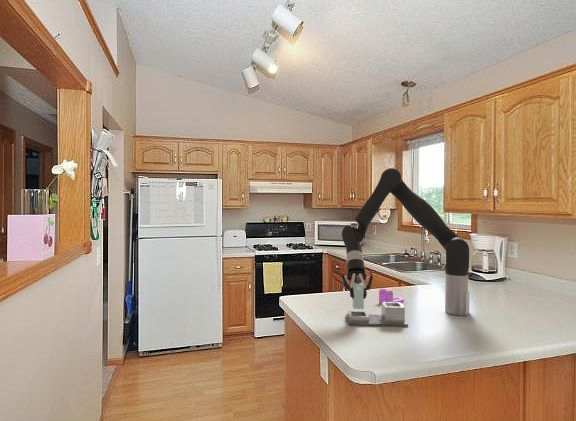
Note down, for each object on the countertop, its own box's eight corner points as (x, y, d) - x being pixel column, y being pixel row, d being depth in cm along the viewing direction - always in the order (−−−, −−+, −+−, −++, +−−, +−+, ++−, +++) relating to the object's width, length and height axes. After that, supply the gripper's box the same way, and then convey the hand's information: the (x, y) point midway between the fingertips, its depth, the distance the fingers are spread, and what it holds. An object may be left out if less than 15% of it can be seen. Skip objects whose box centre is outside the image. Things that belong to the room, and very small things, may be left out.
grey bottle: (362, 306, 151) (362, 275, 151) (363, 309, 147) (364, 277, 146) (352, 305, 152) (352, 275, 151) (353, 309, 147) (354, 277, 147)
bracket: (387, 305, 173) (387, 291, 173) (379, 302, 177) (379, 288, 177) (406, 301, 179) (406, 287, 179) (397, 299, 184) (397, 285, 184)
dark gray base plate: (400, 317, 154) (400, 300, 154) (407, 326, 142) (407, 309, 142) (346, 316, 156) (346, 300, 156) (348, 325, 144) (348, 308, 144)
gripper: (339, 257, 157) (341, 292, 145) (372, 258, 156) (377, 293, 144) (338, 267, 162) (340, 302, 151) (370, 268, 161) (375, 303, 150)
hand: (358, 297), depth 147 cm, fingers closed on grey bottle, 4 cm apart
